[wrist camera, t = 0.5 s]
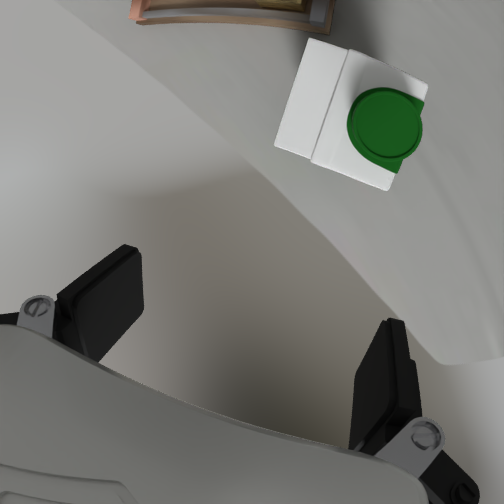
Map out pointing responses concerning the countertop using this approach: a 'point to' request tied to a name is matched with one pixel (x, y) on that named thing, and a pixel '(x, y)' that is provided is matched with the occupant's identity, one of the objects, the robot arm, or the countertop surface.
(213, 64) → the countertop surface
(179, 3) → the rail base
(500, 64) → the countertop surface
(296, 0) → the slider
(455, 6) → the countertop surface
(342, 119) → the milk carton
